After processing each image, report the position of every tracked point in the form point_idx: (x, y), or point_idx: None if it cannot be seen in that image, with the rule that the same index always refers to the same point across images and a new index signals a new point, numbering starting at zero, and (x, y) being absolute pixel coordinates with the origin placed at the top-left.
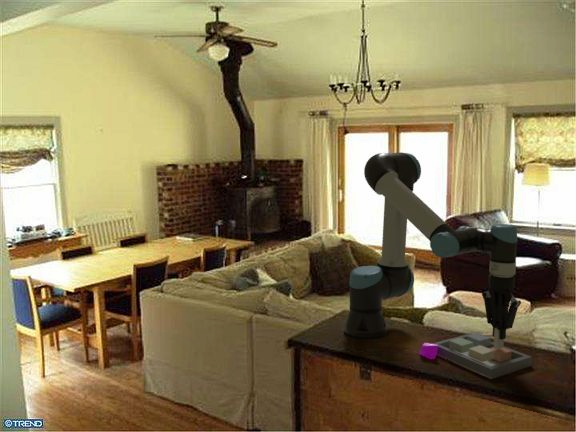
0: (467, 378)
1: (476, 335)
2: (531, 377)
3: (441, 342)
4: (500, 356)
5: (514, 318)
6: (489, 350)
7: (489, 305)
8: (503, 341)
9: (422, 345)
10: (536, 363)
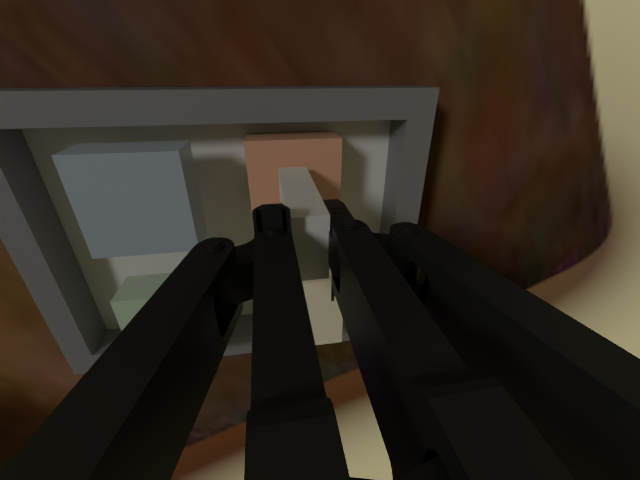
0: (340, 356)
1: (103, 203)
2: (466, 187)
3: (70, 335)
4: None
5: (500, 279)
6: (330, 295)
7: (159, 461)
8: (312, 180)
9: None
10: (414, 22)
